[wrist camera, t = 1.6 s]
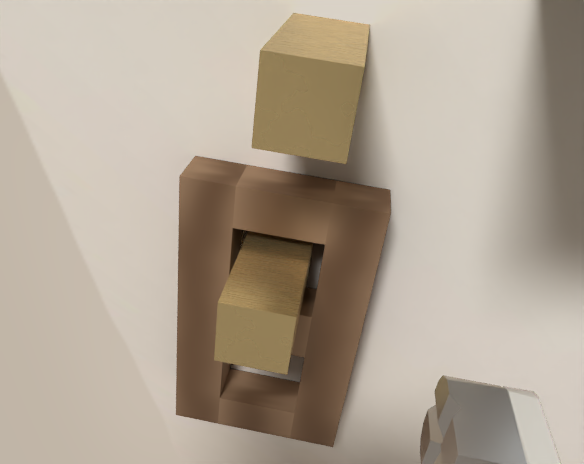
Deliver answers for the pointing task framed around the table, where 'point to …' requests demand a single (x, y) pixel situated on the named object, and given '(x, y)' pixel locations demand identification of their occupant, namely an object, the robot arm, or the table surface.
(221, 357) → the seated billet
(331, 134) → the block
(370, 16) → the table surface
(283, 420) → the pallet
